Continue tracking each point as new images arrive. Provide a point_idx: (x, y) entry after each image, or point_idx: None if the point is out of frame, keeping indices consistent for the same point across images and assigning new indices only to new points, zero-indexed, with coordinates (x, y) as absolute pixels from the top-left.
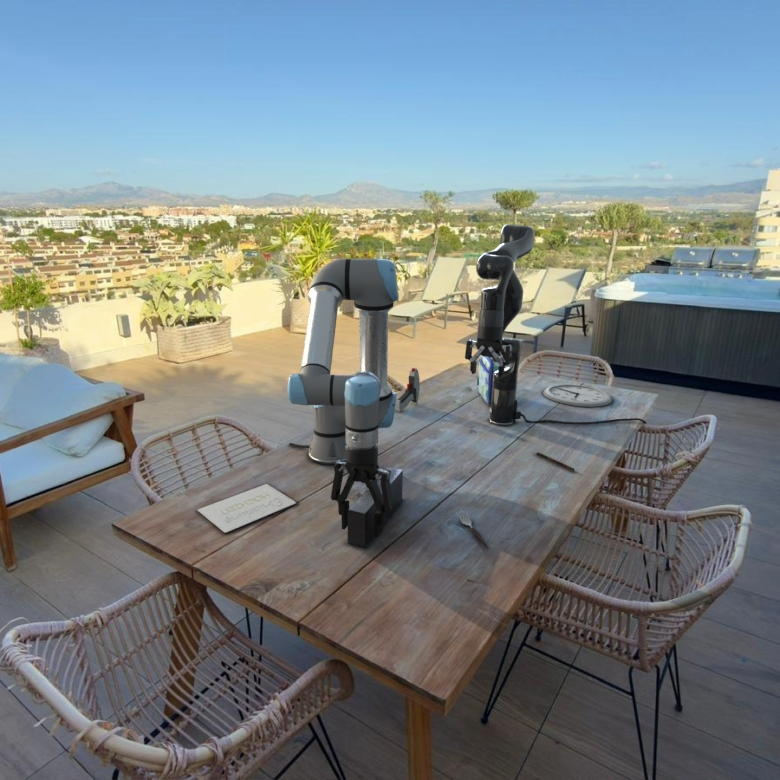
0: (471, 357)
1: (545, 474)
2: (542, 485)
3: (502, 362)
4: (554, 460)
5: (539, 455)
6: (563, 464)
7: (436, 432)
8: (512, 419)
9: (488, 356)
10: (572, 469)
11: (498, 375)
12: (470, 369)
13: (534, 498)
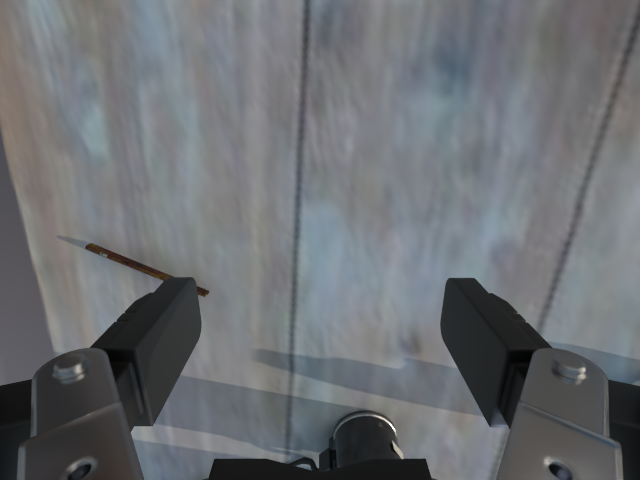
0: (612, 420)
1: (141, 191)
2: (116, 118)
3: (35, 403)
4: (147, 270)
5: (198, 287)
6: (118, 259)
7: (504, 291)
8: (335, 442)
9: (288, 471)
10: (90, 246)
11: (177, 286)
12: (505, 305)
13: (96, 19)
